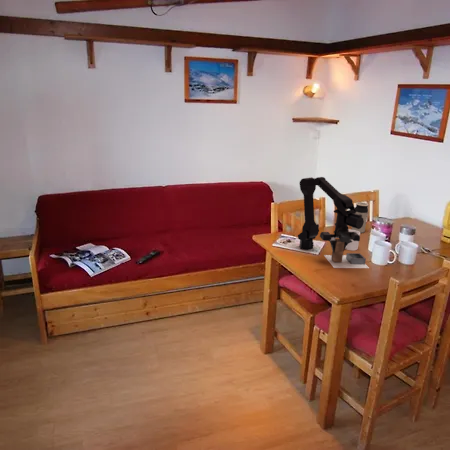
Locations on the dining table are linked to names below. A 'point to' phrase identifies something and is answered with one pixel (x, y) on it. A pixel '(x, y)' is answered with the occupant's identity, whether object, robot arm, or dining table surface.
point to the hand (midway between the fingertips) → (337, 252)
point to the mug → (353, 242)
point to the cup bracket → (355, 258)
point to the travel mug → (363, 210)
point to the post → (338, 251)
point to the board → (344, 263)
